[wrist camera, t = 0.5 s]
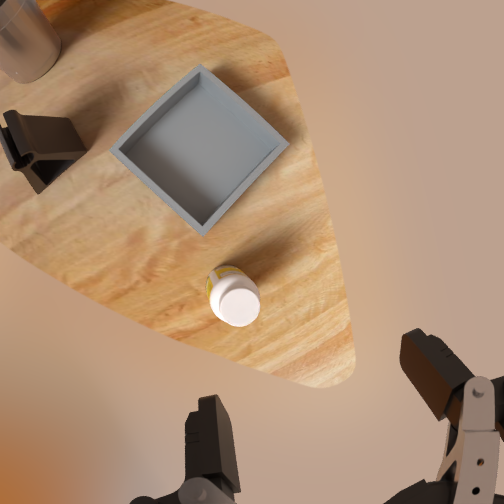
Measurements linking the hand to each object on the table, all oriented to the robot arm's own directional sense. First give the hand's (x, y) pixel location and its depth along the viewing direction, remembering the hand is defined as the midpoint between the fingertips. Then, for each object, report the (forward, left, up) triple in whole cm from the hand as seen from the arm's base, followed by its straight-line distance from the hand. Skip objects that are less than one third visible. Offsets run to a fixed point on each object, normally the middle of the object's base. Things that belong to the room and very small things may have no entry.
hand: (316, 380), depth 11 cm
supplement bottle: (+2, -2, -28) cm, 28 cm away
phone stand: (-27, -5, -28) cm, 39 cm away
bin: (-12, +8, -28) cm, 31 cm away
